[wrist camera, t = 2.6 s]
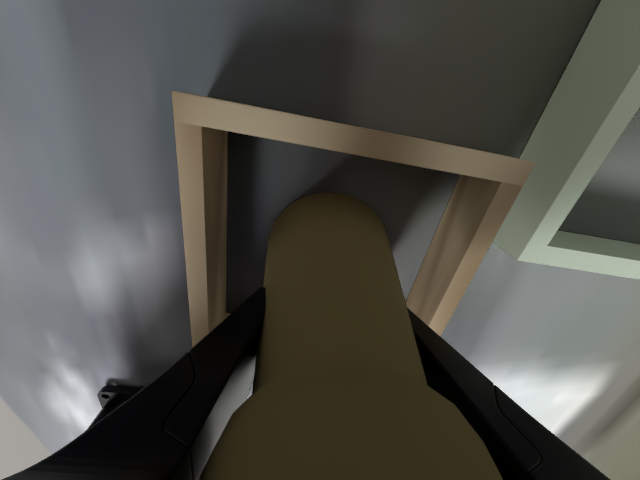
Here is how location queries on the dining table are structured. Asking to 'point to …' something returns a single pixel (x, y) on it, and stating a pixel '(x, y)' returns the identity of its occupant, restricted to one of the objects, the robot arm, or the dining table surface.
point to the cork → (341, 365)
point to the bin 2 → (579, 148)
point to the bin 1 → (222, 116)
